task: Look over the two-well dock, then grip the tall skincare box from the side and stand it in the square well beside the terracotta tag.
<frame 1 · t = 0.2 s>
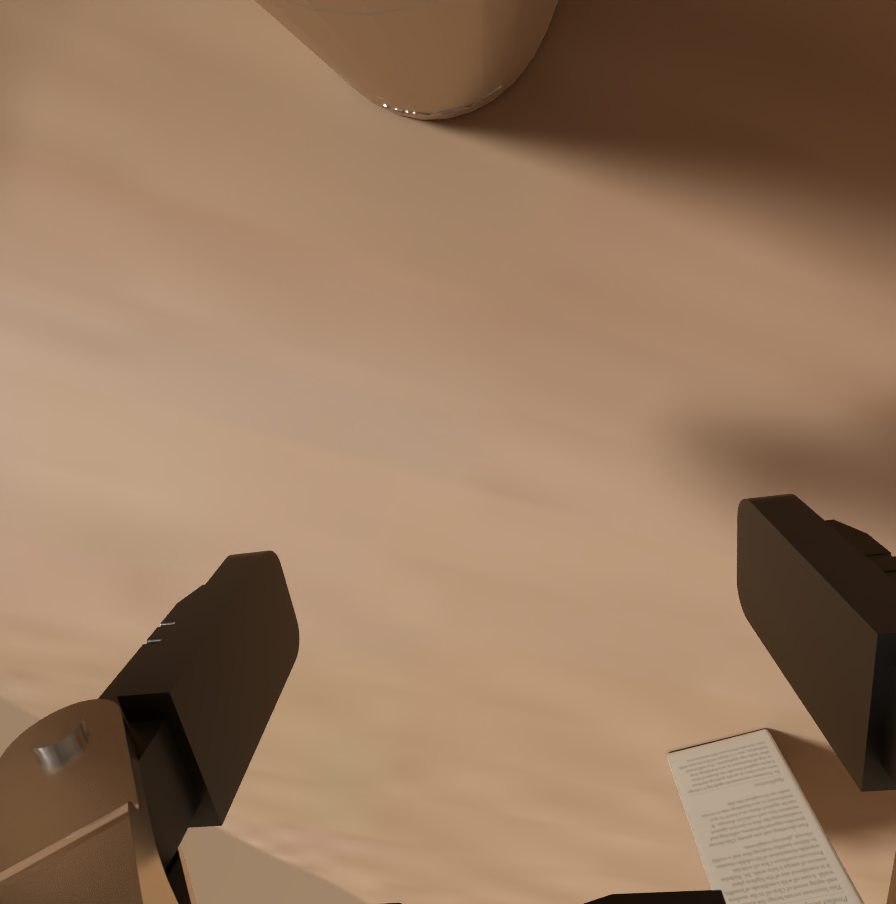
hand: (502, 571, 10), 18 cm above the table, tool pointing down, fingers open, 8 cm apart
skincare box: (723, 760, 36), on the table
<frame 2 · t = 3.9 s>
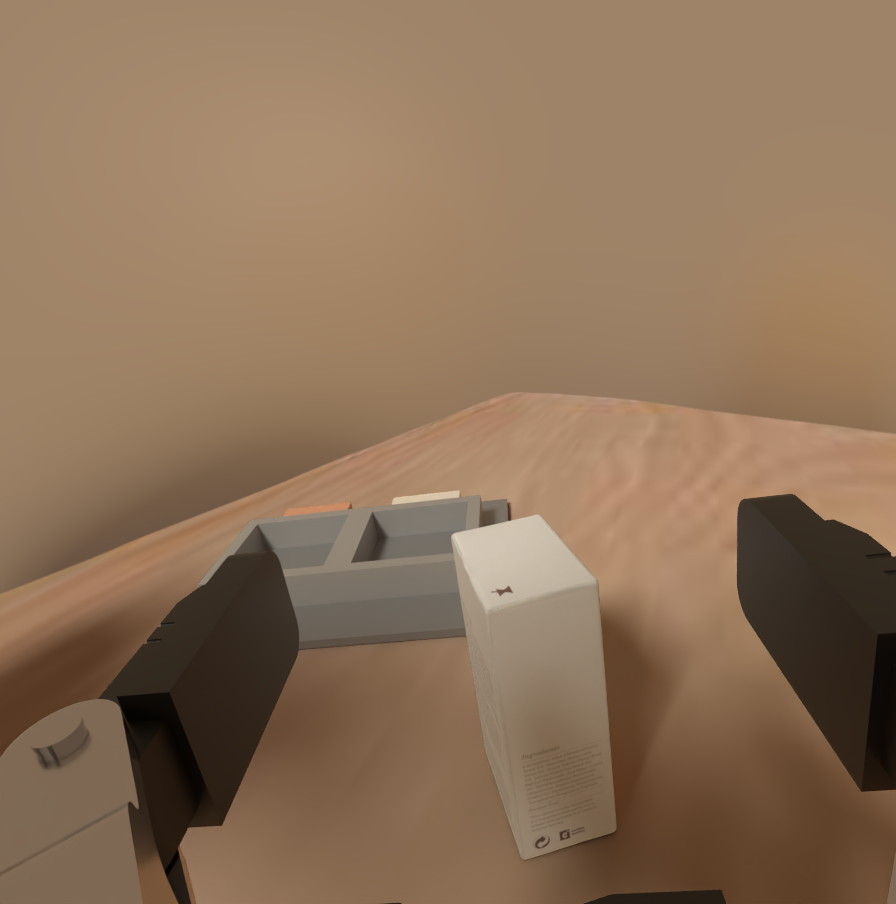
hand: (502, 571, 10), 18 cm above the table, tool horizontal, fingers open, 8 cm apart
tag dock: (357, 571, 47), on the table
skincare box: (546, 790, 27), on the table
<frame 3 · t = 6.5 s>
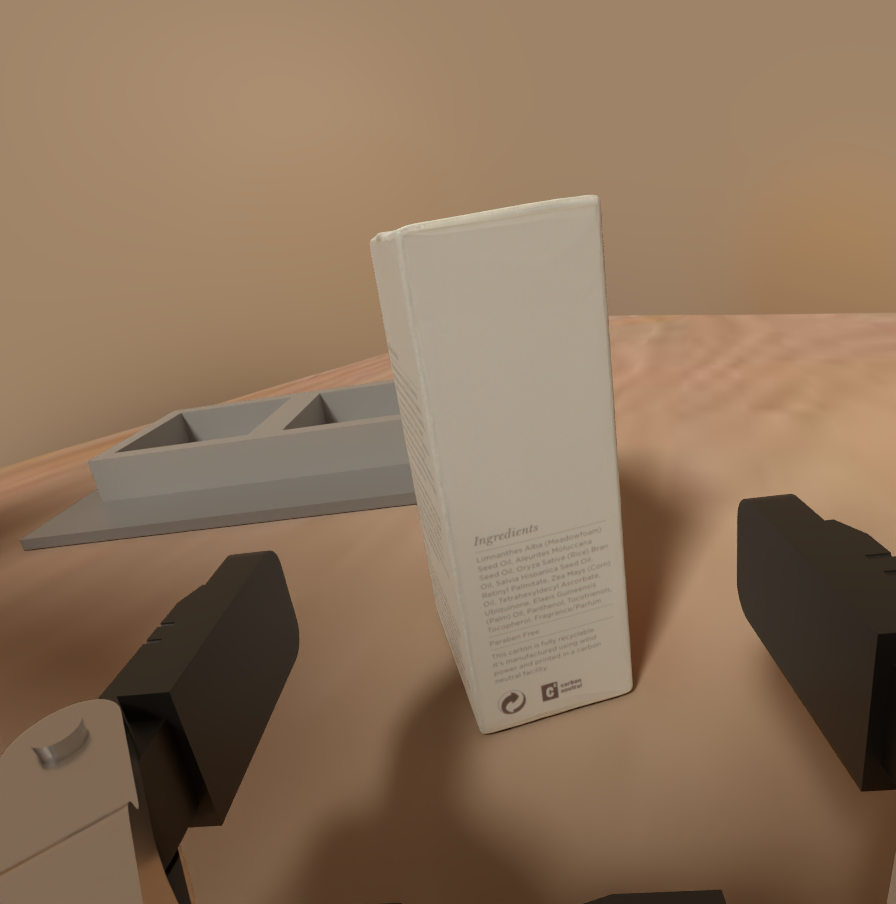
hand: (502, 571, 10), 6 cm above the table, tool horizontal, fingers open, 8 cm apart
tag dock: (299, 458, 38), on the table
skincare box: (523, 651, 18), on the table
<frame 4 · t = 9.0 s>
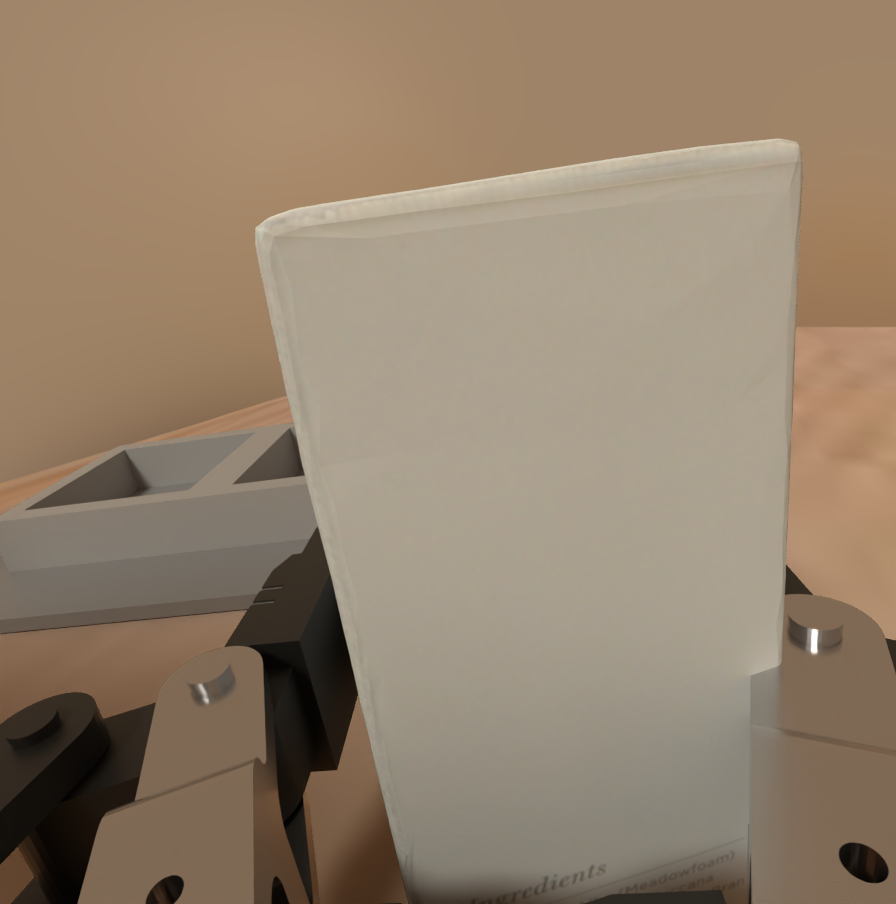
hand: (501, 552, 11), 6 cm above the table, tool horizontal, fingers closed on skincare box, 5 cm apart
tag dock: (261, 510, 31), on the table
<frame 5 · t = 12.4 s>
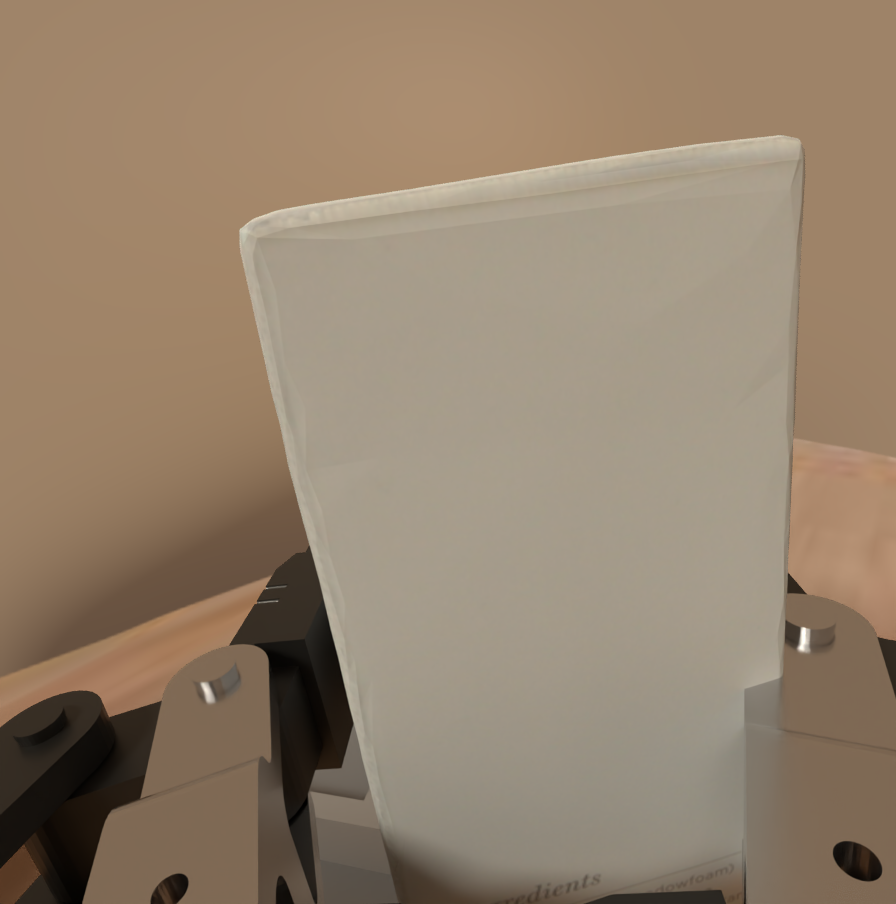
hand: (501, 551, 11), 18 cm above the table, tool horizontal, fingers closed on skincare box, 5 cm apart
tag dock: (432, 775, 28), on the table
when the fingers open (9 cm above the table, at t = 15.8 s): skincare box drops 2 cm, resting on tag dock.
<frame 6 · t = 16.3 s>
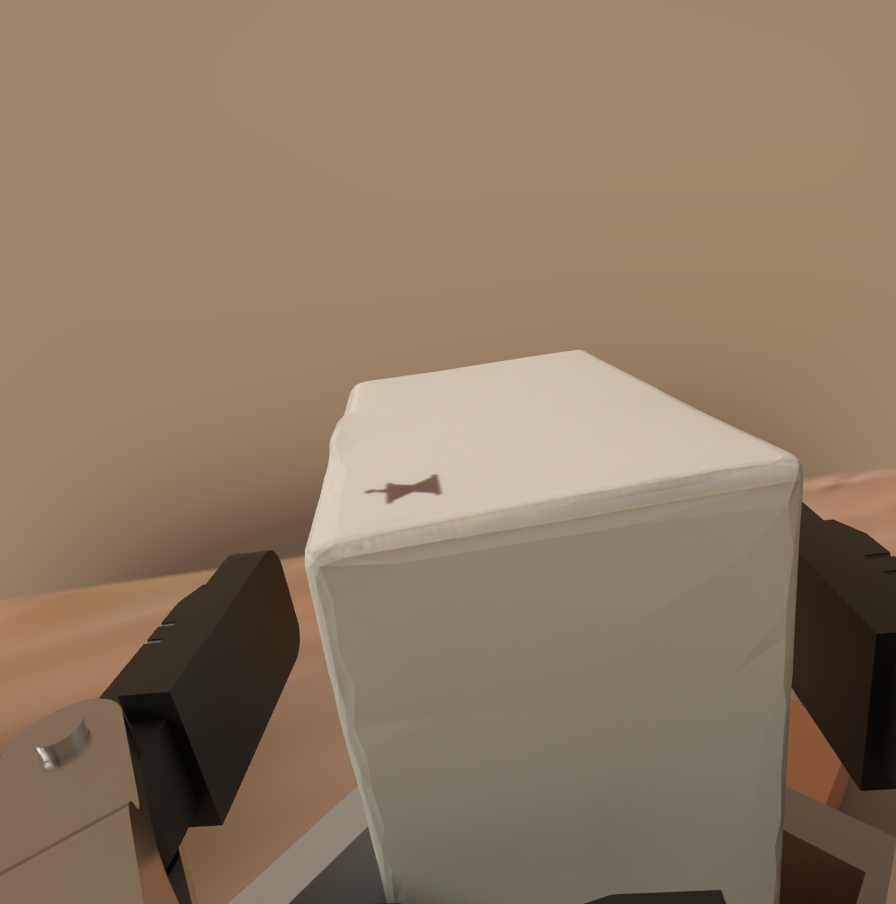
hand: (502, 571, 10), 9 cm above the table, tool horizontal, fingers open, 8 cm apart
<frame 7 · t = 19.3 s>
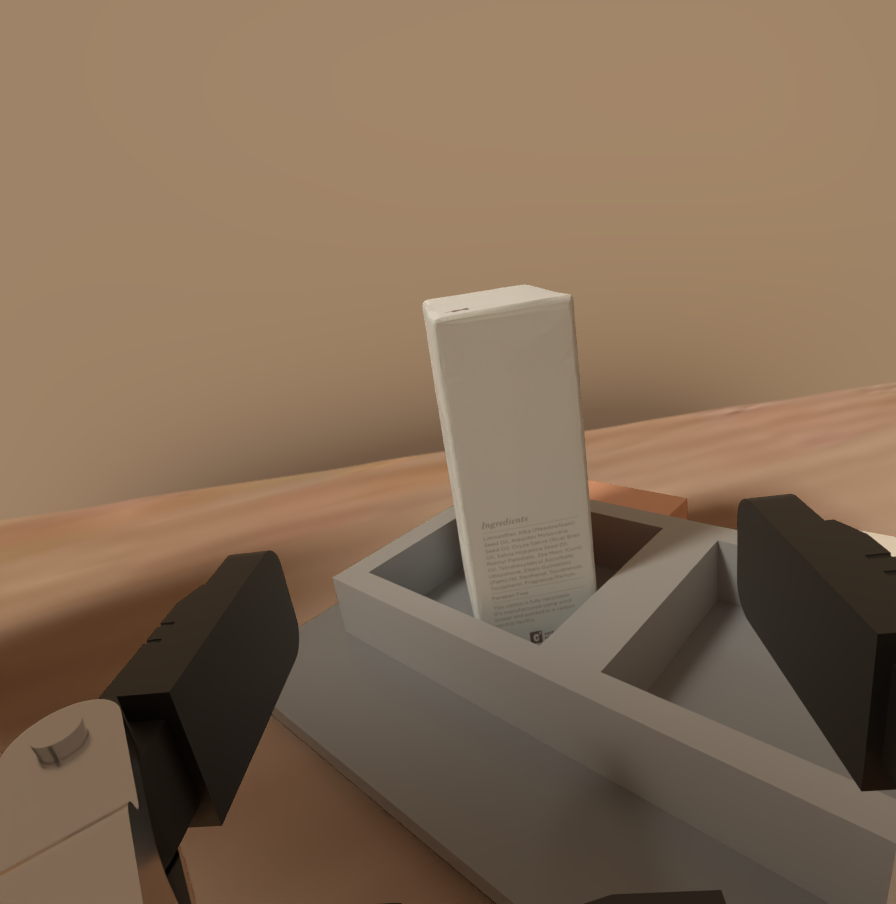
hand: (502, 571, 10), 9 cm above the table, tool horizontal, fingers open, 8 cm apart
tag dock: (641, 665, 20), on the table
skincare box: (527, 612, 23), resting on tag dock
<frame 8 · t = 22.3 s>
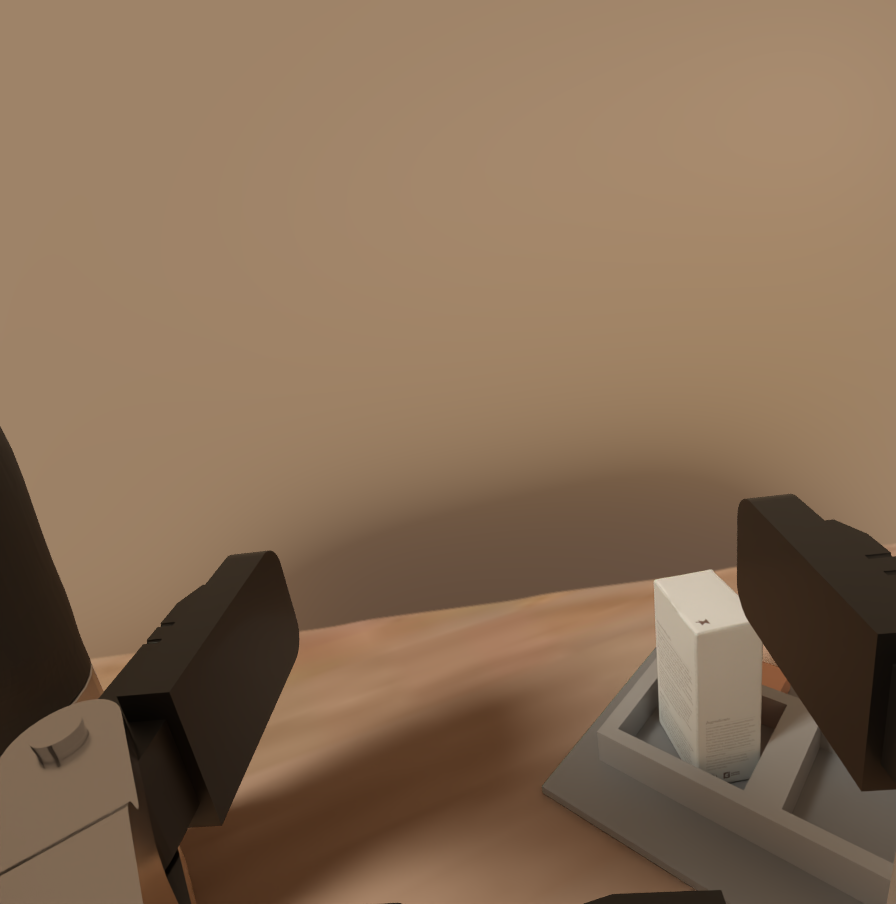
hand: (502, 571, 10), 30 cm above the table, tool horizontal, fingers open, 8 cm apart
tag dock: (783, 789, 38), on the table
skincare box: (706, 749, 41), resting on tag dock
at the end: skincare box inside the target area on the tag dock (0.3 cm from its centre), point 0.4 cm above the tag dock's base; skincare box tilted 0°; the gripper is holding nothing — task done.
